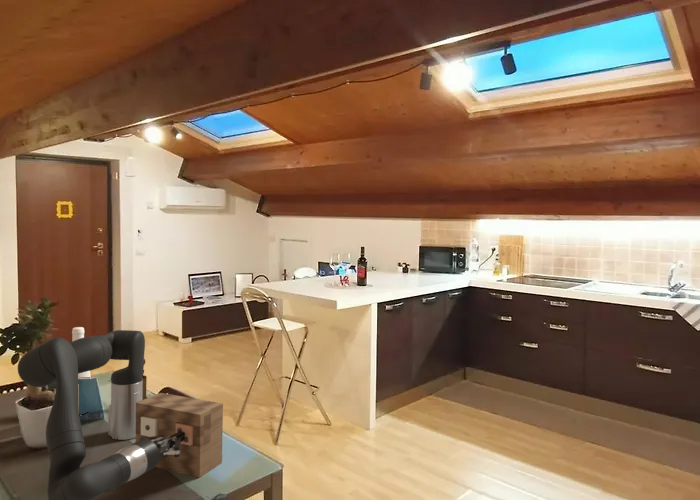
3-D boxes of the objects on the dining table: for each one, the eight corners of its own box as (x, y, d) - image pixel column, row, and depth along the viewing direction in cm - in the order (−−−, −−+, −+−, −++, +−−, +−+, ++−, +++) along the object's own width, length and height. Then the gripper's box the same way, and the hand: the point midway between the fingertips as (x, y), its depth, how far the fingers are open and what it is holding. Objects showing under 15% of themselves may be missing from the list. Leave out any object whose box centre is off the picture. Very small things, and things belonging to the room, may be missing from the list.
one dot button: (140, 435, 149) (140, 417, 148) (153, 428, 153) (153, 411, 153) (154, 438, 147) (154, 420, 146) (167, 431, 151) (167, 414, 151)
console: (135, 462, 151) (135, 402, 150) (160, 448, 160) (160, 392, 159) (199, 477, 143) (200, 414, 142) (222, 462, 152) (222, 403, 151)
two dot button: (174, 442, 144) (175, 424, 144) (187, 435, 149) (187, 418, 149) (190, 445, 142) (190, 427, 142) (202, 438, 147) (202, 421, 147)
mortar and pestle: (143, 410, 192) (143, 360, 191) (127, 408, 193) (127, 359, 193) (153, 404, 199) (154, 356, 198) (137, 403, 200) (138, 355, 199)
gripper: (156, 450, 124) (203, 425, 140) (112, 440, 129) (163, 417, 145) (155, 482, 125) (202, 453, 141) (112, 470, 130) (162, 444, 146)
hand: (182, 435), depth 143 cm, fingers closed
